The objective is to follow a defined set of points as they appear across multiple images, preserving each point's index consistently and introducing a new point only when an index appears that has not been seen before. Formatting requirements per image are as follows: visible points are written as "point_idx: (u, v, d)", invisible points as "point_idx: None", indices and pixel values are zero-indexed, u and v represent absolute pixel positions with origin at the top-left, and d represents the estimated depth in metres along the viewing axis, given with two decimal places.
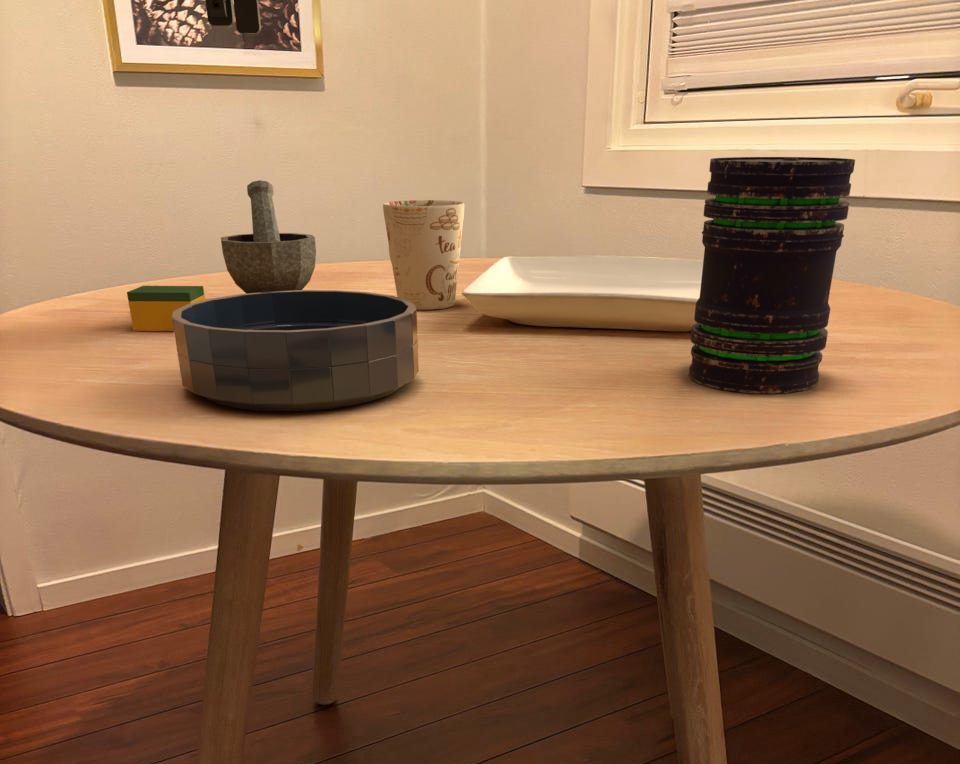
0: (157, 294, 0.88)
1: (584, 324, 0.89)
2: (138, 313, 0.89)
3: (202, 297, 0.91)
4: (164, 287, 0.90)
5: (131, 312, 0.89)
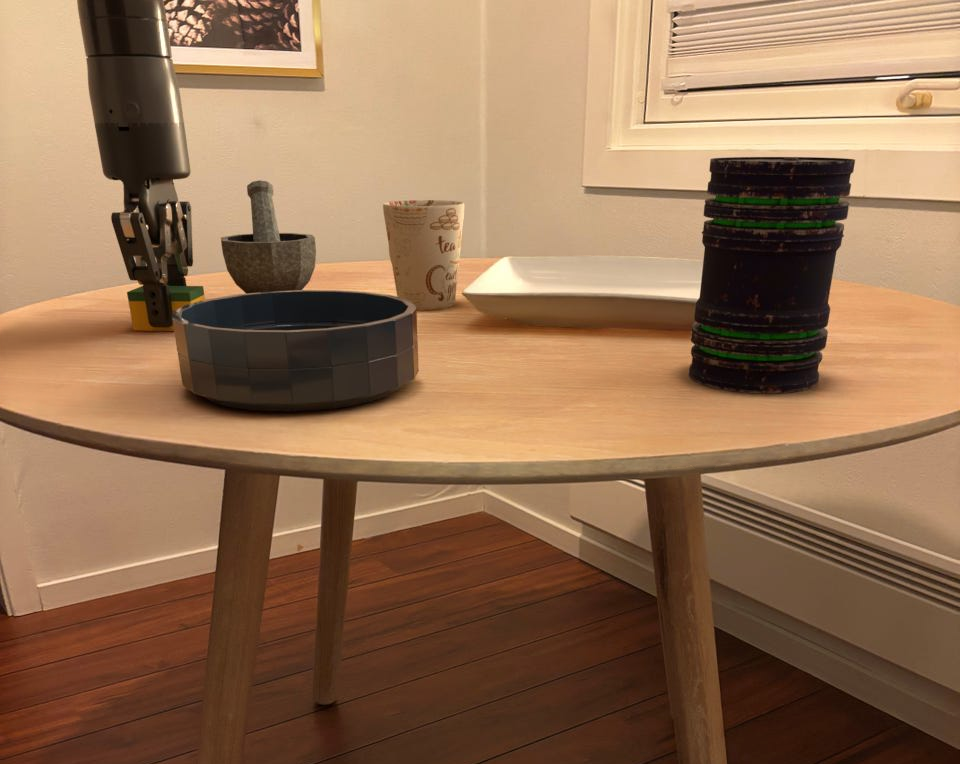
0: None
1: (584, 324, 0.89)
2: (138, 313, 0.89)
3: (202, 297, 0.91)
4: None
5: (131, 312, 0.89)
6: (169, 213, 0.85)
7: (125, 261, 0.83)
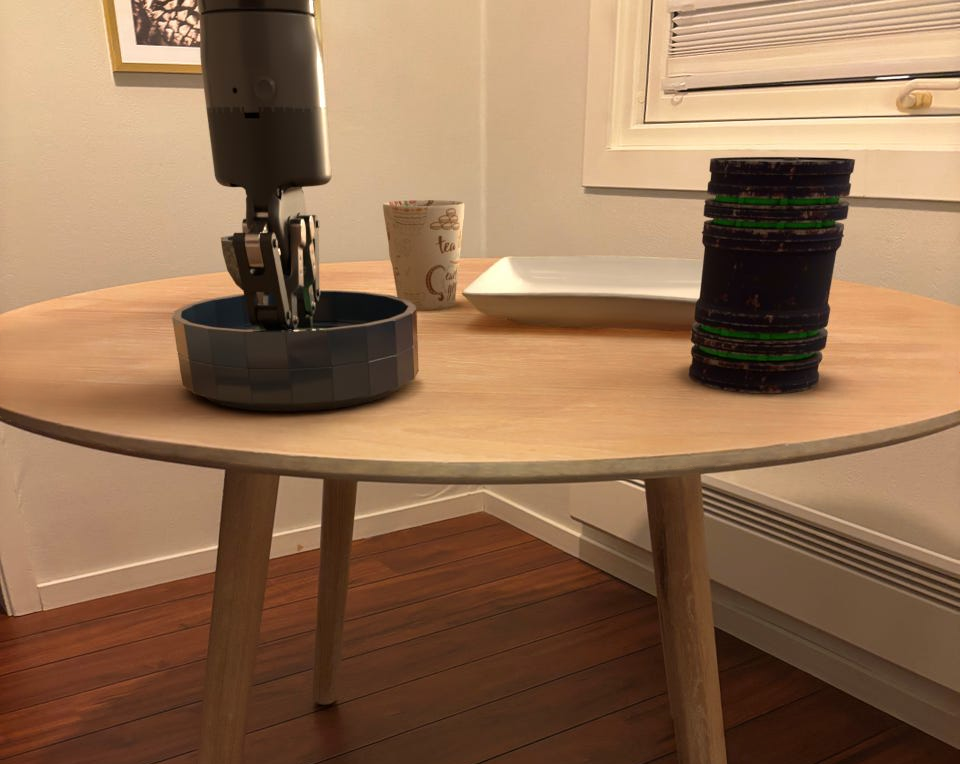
0: None
1: (584, 324, 0.89)
2: None
3: None
4: None
5: None
6: (303, 232, 0.62)
7: (247, 299, 0.60)
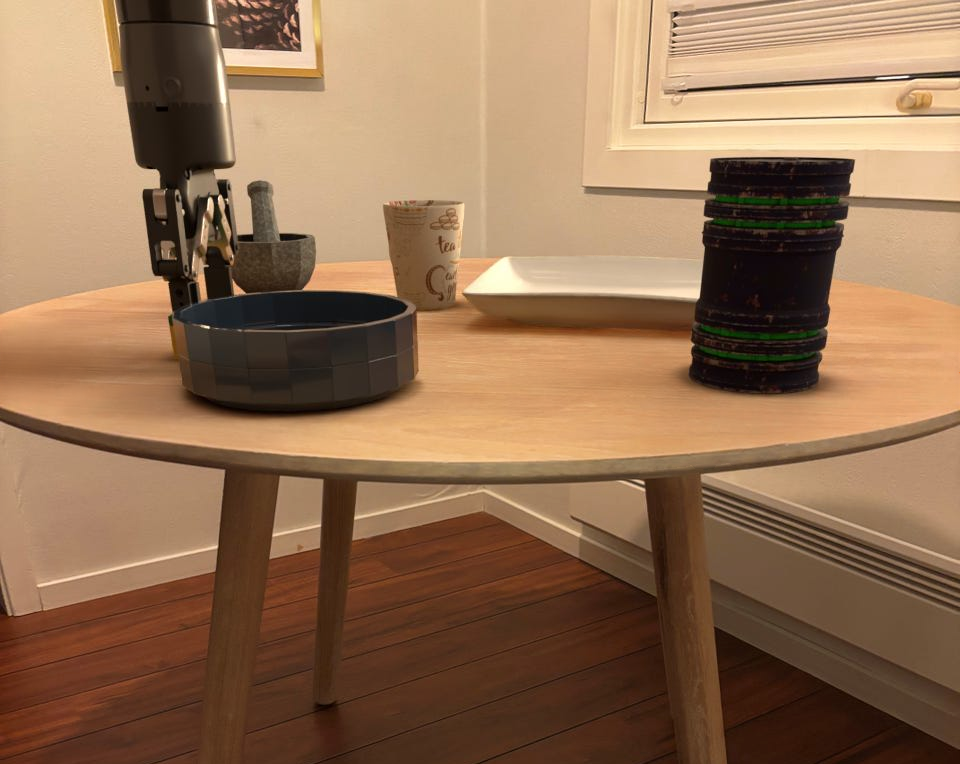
0: None
1: (584, 324, 0.89)
2: None
3: None
4: None
5: (172, 339, 0.78)
6: (211, 208, 0.73)
7: (150, 248, 0.70)
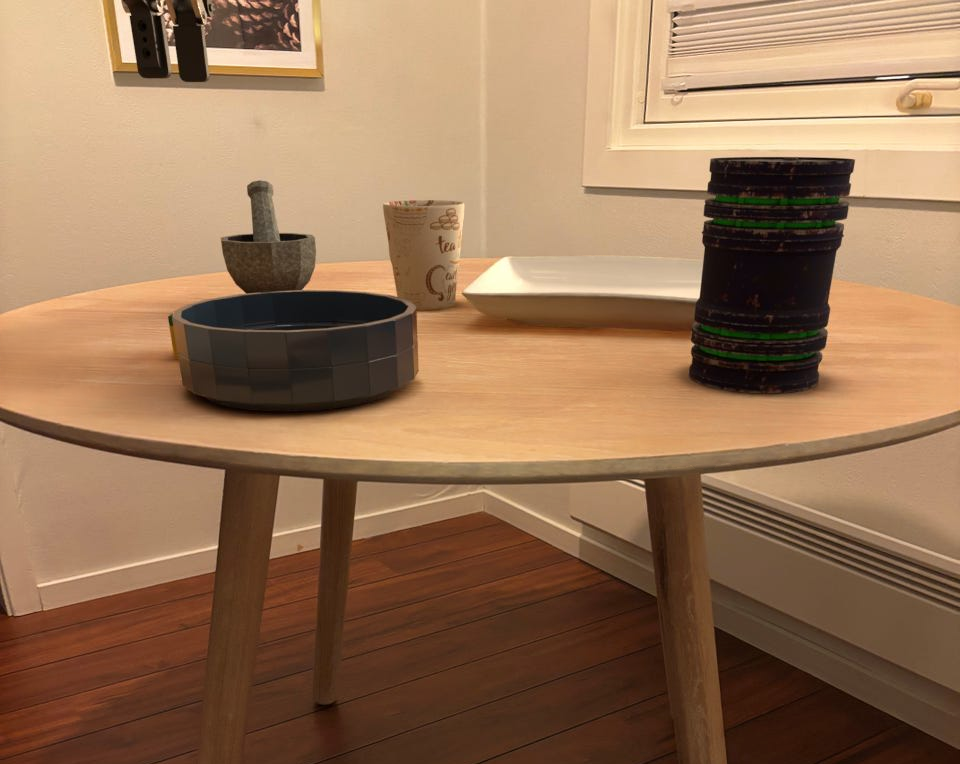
0: None
1: (584, 324, 0.89)
2: None
3: None
4: None
5: (172, 339, 0.78)
6: None
7: None
